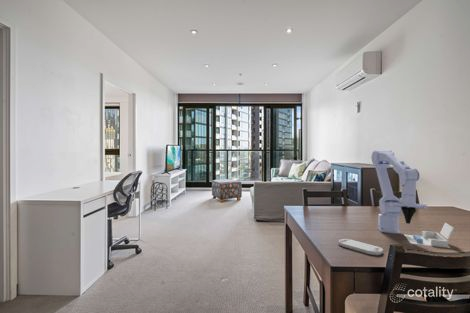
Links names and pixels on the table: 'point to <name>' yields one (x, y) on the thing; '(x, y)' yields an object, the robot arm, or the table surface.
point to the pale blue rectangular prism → (417, 238)
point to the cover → (446, 231)
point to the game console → (360, 247)
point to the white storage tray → (430, 239)
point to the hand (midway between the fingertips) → (407, 223)
